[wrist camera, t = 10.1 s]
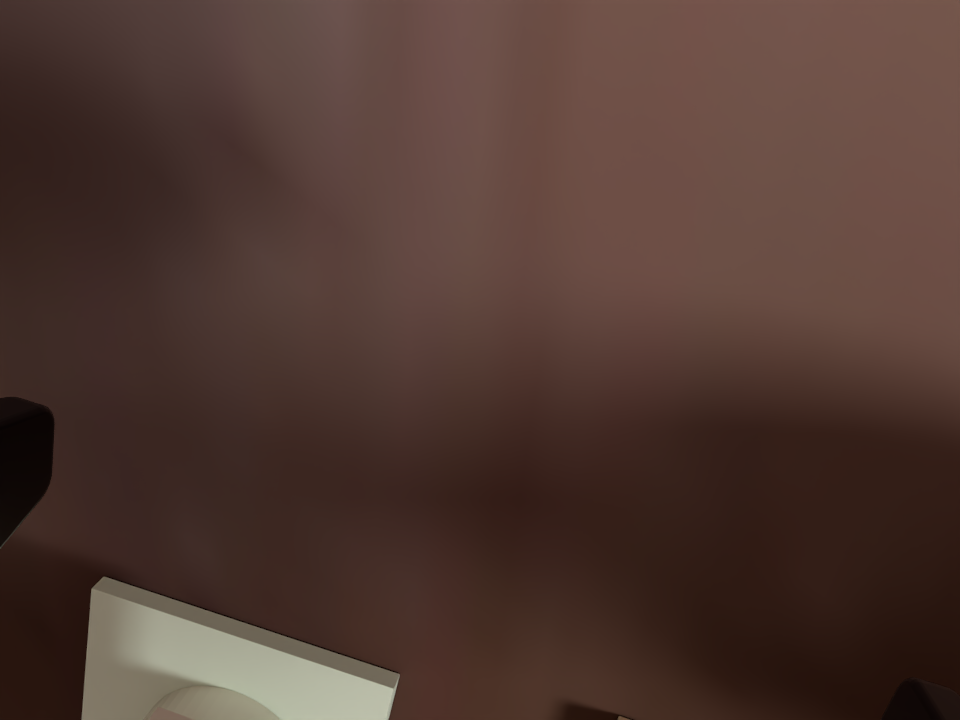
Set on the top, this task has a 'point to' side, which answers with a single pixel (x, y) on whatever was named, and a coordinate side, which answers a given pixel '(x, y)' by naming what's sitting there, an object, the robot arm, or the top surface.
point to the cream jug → (208, 706)
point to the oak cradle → (622, 718)
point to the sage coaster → (215, 662)
